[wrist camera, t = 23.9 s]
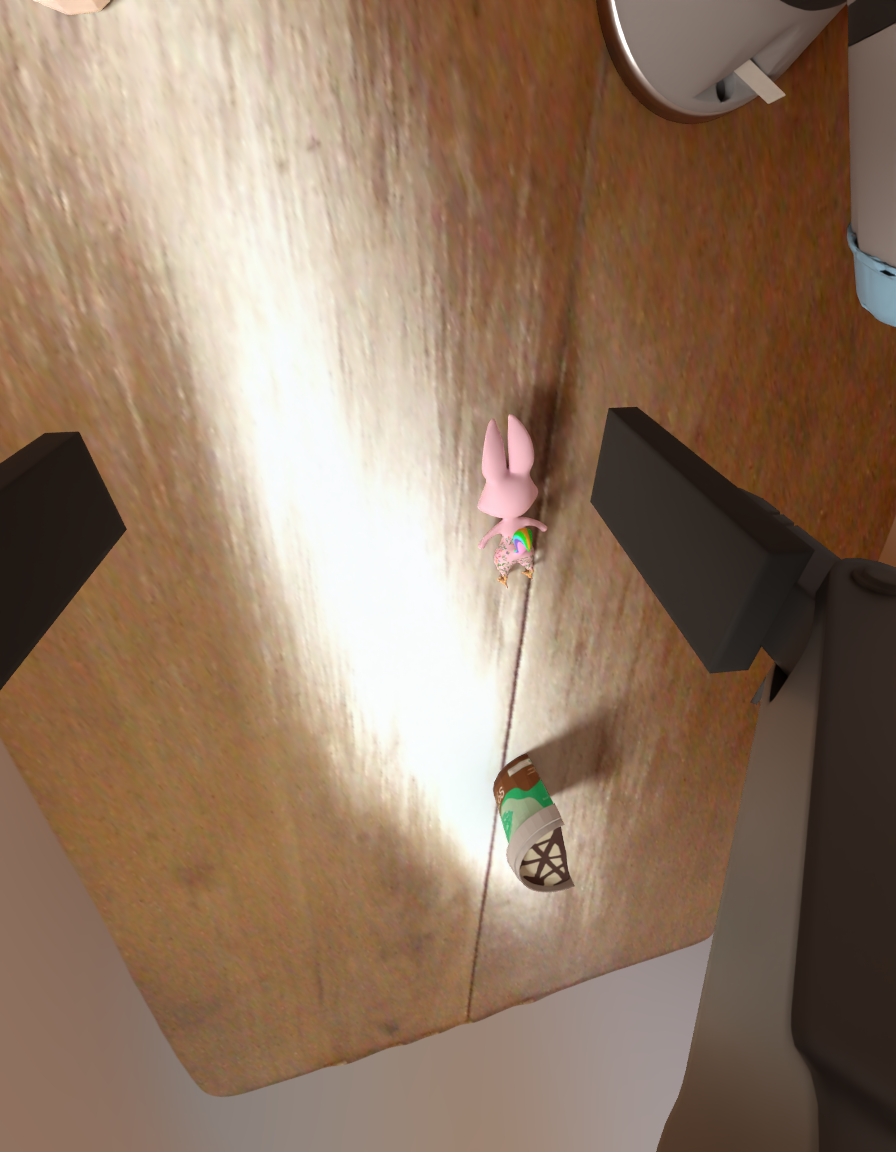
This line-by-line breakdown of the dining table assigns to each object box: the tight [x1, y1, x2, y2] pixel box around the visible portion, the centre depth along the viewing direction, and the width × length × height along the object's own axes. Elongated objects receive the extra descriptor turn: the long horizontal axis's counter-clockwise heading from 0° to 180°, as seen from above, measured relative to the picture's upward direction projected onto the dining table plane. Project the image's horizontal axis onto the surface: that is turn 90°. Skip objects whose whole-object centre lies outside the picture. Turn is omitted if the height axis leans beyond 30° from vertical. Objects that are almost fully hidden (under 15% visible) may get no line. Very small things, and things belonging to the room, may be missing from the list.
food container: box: [493, 754, 575, 892], centre depth 54 cm, size 12×6×10 cm, turn 12°
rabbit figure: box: [478, 414, 547, 589], centre depth 39 cm, size 6×6×15 cm
